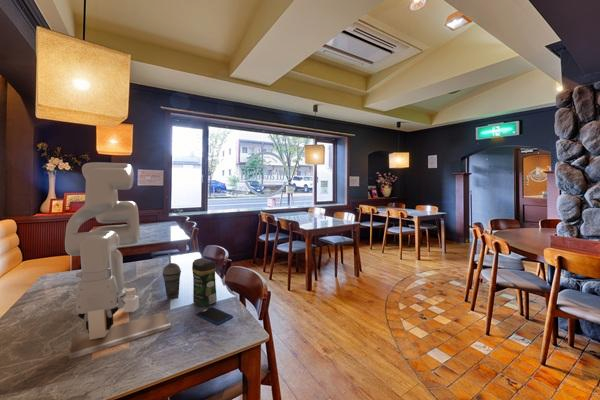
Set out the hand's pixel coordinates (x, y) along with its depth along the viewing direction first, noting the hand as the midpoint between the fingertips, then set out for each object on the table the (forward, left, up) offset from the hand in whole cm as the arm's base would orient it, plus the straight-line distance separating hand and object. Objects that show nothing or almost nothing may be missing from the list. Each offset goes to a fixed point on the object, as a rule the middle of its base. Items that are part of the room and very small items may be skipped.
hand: (100, 328), depth 84 cm
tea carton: (0, 0, -1) cm, 1 cm away
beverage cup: (+5, +30, -4) cm, 31 cm away
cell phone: (+30, +18, -4) cm, 35 cm away
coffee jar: (+21, +28, -4) cm, 36 cm away
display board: (+6, +2, -3) cm, 7 cm away
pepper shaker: (-3, +16, -4) cm, 17 cm away
